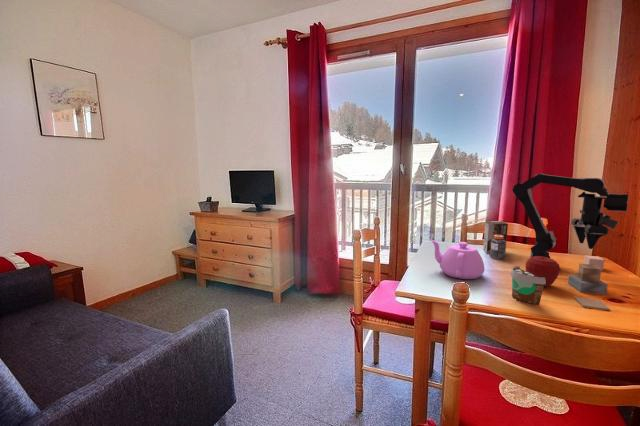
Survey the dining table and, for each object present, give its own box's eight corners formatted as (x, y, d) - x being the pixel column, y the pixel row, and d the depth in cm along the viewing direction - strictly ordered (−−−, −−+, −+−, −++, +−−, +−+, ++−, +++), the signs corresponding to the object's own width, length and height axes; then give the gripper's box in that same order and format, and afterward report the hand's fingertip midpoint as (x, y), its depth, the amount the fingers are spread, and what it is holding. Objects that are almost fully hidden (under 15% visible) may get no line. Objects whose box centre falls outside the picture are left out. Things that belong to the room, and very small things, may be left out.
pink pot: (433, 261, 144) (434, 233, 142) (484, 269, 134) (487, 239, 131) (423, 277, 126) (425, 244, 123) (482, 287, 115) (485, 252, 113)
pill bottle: (502, 256, 152) (504, 234, 150) (505, 260, 146) (507, 237, 144) (488, 255, 154) (490, 233, 152) (491, 258, 148) (493, 236, 146)
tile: (582, 307, 99) (582, 305, 99) (574, 298, 106) (574, 296, 105) (609, 310, 97) (610, 309, 96) (599, 301, 103) (599, 299, 103)
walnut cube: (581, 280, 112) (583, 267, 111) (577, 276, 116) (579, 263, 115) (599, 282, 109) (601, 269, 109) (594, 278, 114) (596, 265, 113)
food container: (499, 292, 111) (502, 265, 109) (515, 291, 111) (518, 265, 110) (525, 308, 99) (528, 278, 97) (542, 307, 99) (546, 278, 98)
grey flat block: (580, 293, 110) (581, 282, 110) (567, 284, 118) (568, 274, 117) (606, 295, 109) (607, 284, 108) (591, 286, 116) (593, 276, 116)
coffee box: (501, 250, 161) (504, 221, 158) (505, 254, 155) (508, 223, 152) (482, 249, 163) (485, 220, 160) (486, 253, 157) (488, 222, 154)
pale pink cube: (588, 269, 133) (589, 258, 132) (583, 265, 138) (585, 255, 137) (602, 271, 131) (604, 259, 131) (597, 267, 136) (599, 256, 135)
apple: (560, 293, 110) (564, 262, 108) (524, 287, 115) (528, 257, 113) (555, 282, 119) (558, 253, 117) (522, 277, 124) (525, 250, 122)
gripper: (629, 213, 112) (622, 254, 115) (605, 206, 129) (600, 242, 132) (591, 212, 117) (585, 251, 119) (573, 205, 134) (568, 239, 136)
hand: (585, 245), depth 127 cm, fingers open, 9 cm apart
